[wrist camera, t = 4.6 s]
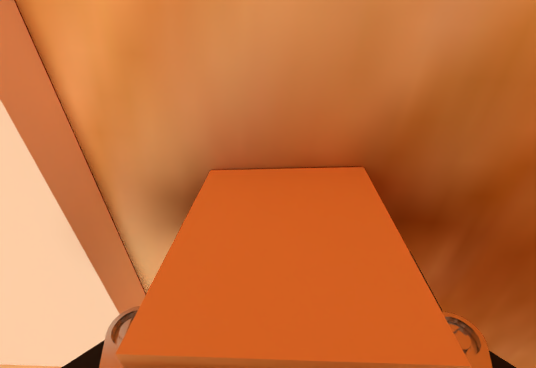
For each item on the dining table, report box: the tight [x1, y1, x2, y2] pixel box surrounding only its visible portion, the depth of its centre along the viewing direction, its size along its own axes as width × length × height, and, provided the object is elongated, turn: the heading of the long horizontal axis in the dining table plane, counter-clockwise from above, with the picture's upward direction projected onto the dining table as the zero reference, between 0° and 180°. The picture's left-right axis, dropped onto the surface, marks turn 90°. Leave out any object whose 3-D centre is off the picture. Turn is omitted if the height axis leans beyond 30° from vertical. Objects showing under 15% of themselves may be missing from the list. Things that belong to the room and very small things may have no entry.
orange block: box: [116, 167, 471, 368], centre depth 9 cm, size 6×6×7 cm
